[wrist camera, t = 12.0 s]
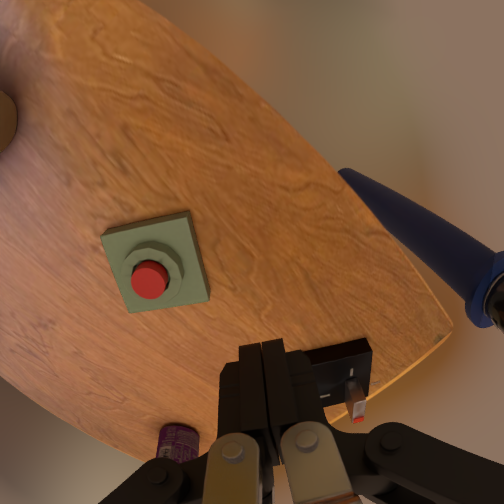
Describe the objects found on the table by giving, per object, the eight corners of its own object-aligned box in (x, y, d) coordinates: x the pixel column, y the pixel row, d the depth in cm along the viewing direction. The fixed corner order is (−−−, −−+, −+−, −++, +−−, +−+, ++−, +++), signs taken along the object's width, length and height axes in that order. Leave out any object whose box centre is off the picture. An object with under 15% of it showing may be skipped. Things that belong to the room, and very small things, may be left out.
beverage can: (158, 437, 50) (149, 491, 39) (163, 418, 47) (153, 477, 36) (195, 445, 51) (191, 499, 40) (203, 427, 48) (200, 486, 37)
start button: (162, 257, 31) (158, 265, 30) (172, 288, 33) (169, 296, 31) (130, 263, 31) (125, 271, 30) (141, 293, 33) (137, 301, 31)
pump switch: (189, 210, 33) (184, 222, 30) (210, 291, 37) (208, 310, 34) (106, 229, 34) (93, 242, 30) (133, 303, 38) (125, 322, 34)
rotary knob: (345, 380, 41) (354, 404, 37) (357, 377, 41) (367, 401, 37) (344, 401, 43) (352, 424, 39) (355, 398, 43) (364, 421, 39)
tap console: (375, 334, 42) (383, 348, 39) (370, 386, 46) (376, 400, 44) (296, 352, 42) (300, 368, 39) (302, 403, 47) (305, 417, 44)
